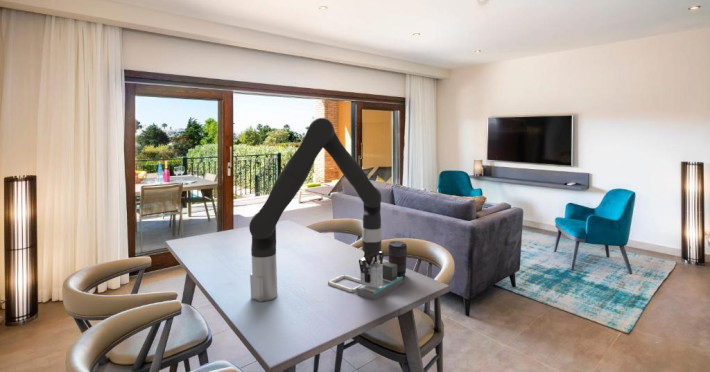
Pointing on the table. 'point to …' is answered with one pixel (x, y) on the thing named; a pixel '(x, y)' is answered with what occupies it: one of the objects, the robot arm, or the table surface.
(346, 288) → the tray frame
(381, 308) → the table surface
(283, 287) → the table surface
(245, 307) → the table surface
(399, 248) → the camera lens
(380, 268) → the medicine box
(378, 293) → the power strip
